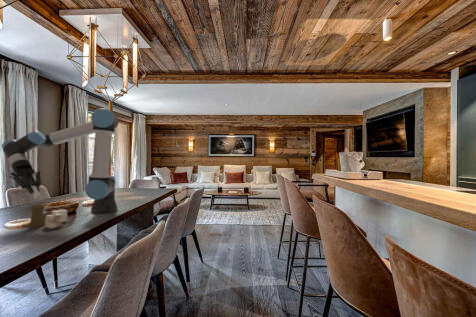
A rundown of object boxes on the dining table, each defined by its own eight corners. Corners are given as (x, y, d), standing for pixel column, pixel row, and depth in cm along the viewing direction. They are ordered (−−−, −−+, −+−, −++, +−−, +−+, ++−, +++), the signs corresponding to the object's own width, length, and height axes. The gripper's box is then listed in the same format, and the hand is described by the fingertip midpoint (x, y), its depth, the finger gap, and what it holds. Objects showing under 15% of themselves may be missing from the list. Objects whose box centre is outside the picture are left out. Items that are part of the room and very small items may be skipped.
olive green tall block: (45, 225, 117) (46, 204, 117) (29, 228, 112) (30, 206, 112) (44, 223, 121) (44, 202, 121) (29, 225, 117) (29, 204, 117)
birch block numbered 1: (56, 224, 119) (56, 212, 119) (62, 226, 117) (62, 214, 117) (45, 227, 114) (45, 215, 114) (51, 228, 113) (51, 216, 113)
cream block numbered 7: (61, 220, 128) (61, 209, 128) (67, 221, 126) (67, 210, 126) (51, 222, 123) (51, 210, 123) (56, 223, 121) (57, 211, 121)
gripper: (32, 168, 130) (49, 200, 124) (1, 168, 118) (18, 204, 112) (37, 159, 128) (55, 191, 122) (7, 158, 116) (24, 194, 110)
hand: (37, 197), depth 117 cm, fingers closed
